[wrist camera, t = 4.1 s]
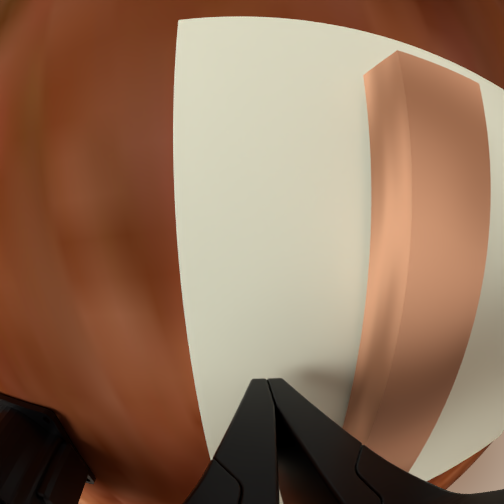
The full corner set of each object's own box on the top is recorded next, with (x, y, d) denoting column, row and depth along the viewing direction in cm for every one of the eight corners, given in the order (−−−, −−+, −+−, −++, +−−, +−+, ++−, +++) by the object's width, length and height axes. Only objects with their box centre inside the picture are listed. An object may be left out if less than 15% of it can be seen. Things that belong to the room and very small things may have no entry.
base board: (229, 518, 13) (229, 529, 12) (182, 34, 7) (178, 20, 6) (495, 430, 15) (500, 435, 14) (559, 139, 9) (568, 139, 8)
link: (368, 500, 12) (380, 526, 9) (304, 517, 11) (312, 545, 9) (451, 100, 7) (500, 86, 5) (344, 72, 7) (386, 35, 4)
